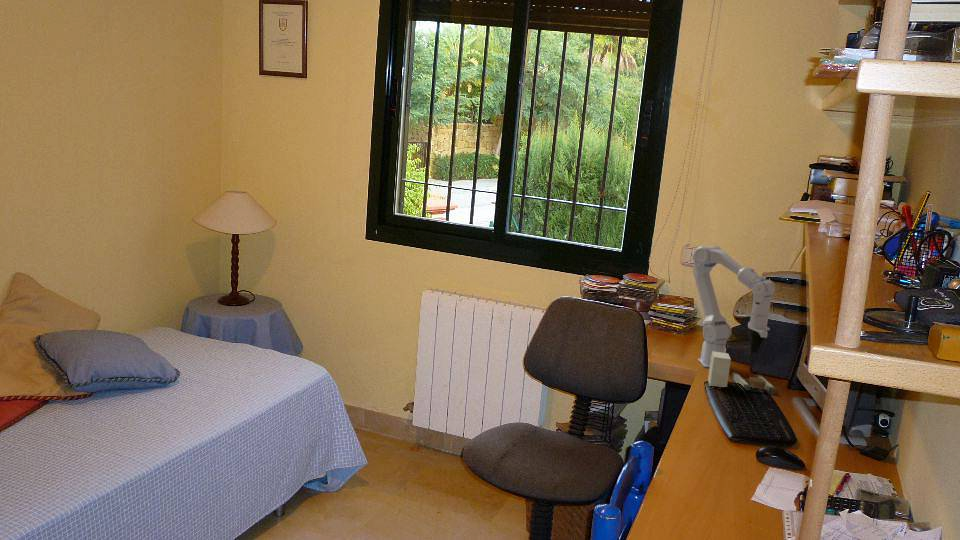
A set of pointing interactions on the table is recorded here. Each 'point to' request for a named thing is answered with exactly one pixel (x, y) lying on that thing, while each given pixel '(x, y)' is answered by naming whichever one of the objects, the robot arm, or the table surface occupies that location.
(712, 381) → the small box
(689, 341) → the table surface
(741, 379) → the rail track
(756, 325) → the robot arm
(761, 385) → the walnut block
